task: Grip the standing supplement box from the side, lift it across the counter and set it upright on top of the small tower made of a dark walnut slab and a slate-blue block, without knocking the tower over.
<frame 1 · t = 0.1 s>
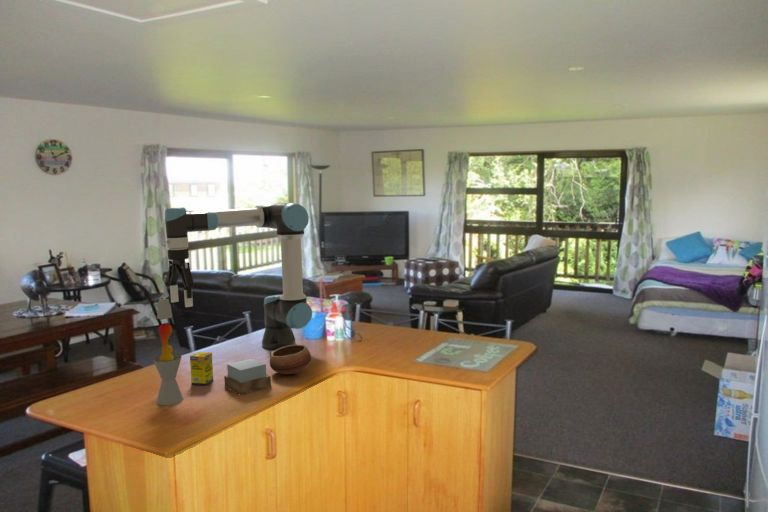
hand: (181, 304, 223), 28 cm above the table, tool pointing down, fingers open, 13 cm apart
bowl: (290, 373, 227), on the table
supplement box: (202, 383, 218), on the table
lava lamp: (170, 401, 200), on the table
tower base slab: (247, 388, 212), on the table, touching tower top block
tower top block: (247, 376, 211), point 4 cm above the table, touching tower base slab
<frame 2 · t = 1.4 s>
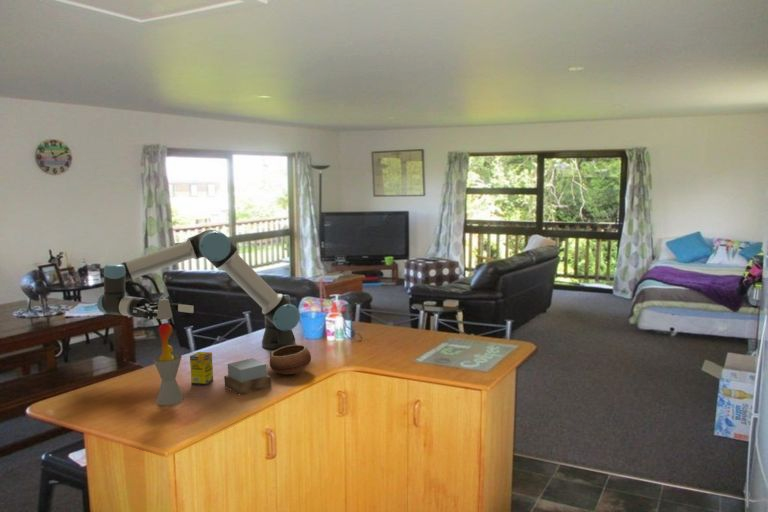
hand: (181, 312, 218), 26 cm above the table, tool horizontal, fingers open, 13 cm apart
nothing on the table moved.
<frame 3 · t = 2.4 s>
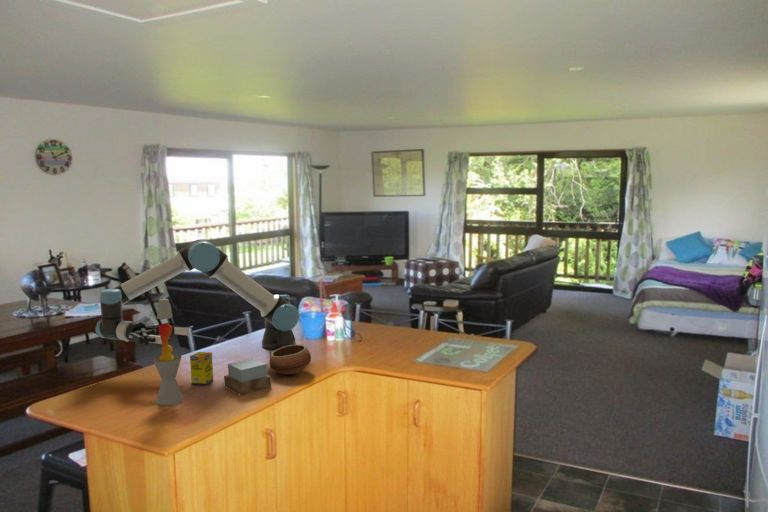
hand: (176, 335, 219), 17 cm above the table, tool horizontal, fingers open, 13 cm apart
nothing on the table moved.
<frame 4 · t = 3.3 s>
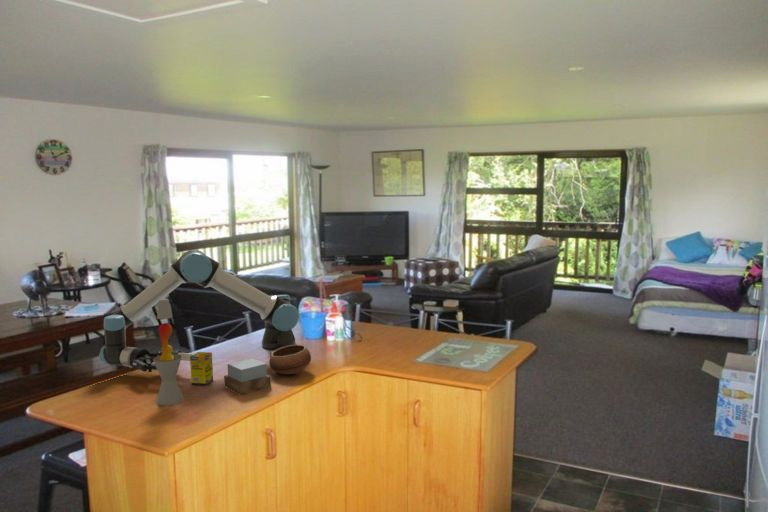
hand: (180, 362, 220), 7 cm above the table, tool horizontal, fingers open, 13 cm apart
nothing on the table moved.
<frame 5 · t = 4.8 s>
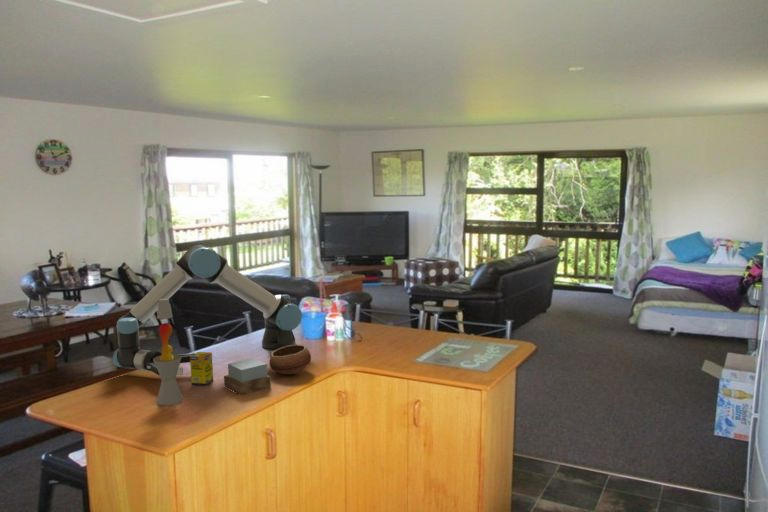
hand: (194, 365, 217), 6 cm above the table, tool horizontal, fingers open, 13 cm apart
tower base slab: (247, 388, 212), on the table
tower top block: (247, 376, 212), point 4 cm above the table
everything else where it was.
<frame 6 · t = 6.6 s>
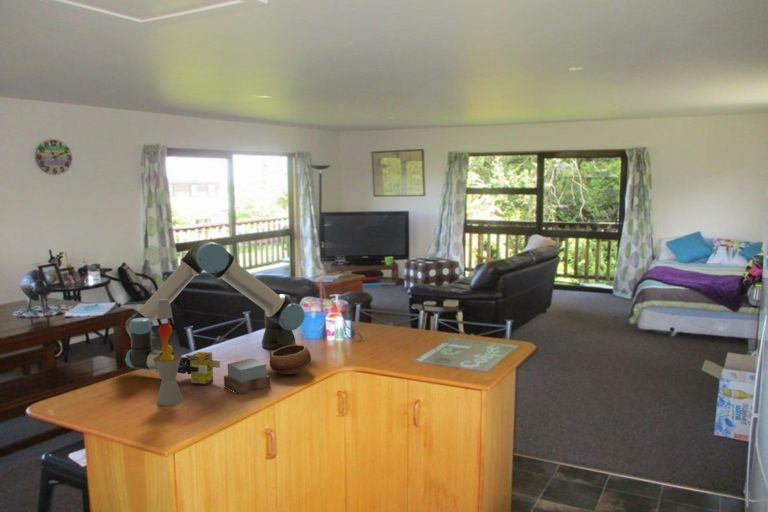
hand: (212, 366, 215), 7 cm above the table, tool horizontal, fingers closed on supplement box, 6 cm apart
supplement box: (202, 383, 218), on the table, touching gripper
tower base slab: (247, 388, 212), on the table, touching tower top block
tower top block: (247, 376, 212), point 4 cm above the table, touching tower base slab
everything else where it was.
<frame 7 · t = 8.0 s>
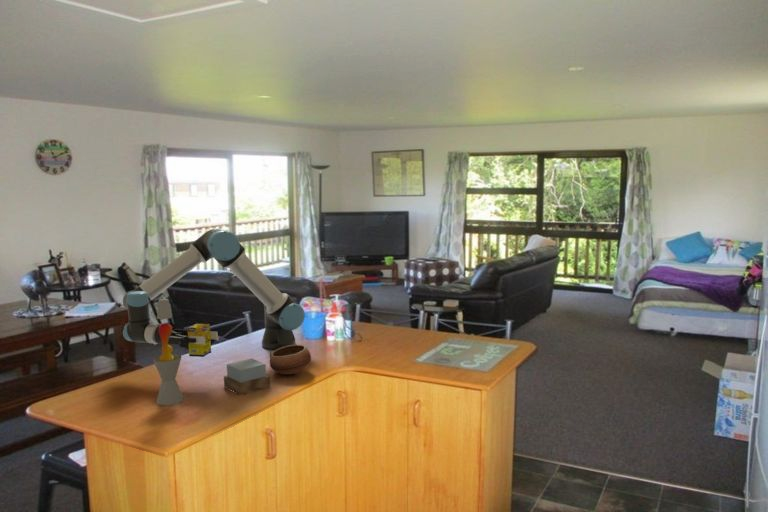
hand: (210, 338, 214), 17 cm above the table, tool horizontal, fingers closed on supplement box, 6 cm apart
supplement box: (200, 355, 216), point 11 cm above the table, touching gripper
everything else where it was.
when the fingers open (17 cm above the table, at t = 11.1 s): supplement box drops 2 cm, resting on tower top block.
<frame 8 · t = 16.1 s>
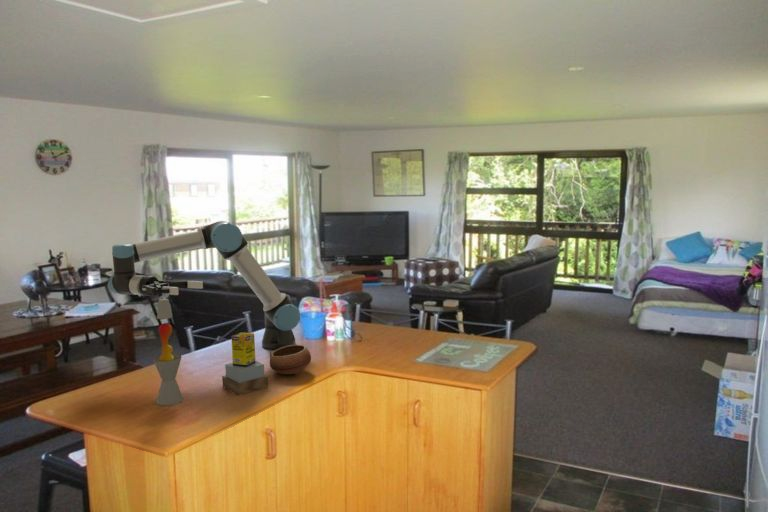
hand: (190, 288, 217), 35 cm above the table, tool horizontal, fingers open, 13 cm apart
supplement box: (244, 364, 211), point 8 cm above the table, touching tower top block
tower top block: (245, 376, 211), point 4 cm above the table, touching supplement box, tower base slab
everything else where it was.
at the end: supplement box 0.2 cm off-centre on the tower top block, point 4.3 cm above the tower top block's base; supplement box tilted 0°; tower top block 0.3 cm off-centre on the tower base slab, point 4.5 cm above the tower base slab's base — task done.
